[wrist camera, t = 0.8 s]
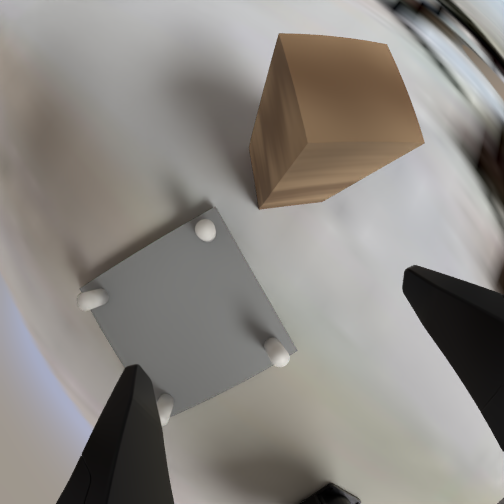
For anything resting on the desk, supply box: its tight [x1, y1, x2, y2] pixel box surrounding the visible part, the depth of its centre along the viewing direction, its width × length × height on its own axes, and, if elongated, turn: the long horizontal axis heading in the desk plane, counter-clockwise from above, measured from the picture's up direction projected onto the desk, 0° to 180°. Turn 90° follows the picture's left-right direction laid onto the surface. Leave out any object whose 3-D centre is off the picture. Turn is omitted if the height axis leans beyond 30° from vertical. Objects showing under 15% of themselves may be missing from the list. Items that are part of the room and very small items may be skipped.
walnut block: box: [249, 33, 424, 210], centre depth 16 cm, size 5×5×13 cm
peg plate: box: [77, 207, 298, 426], centre depth 19 cm, size 12×12×4 cm
